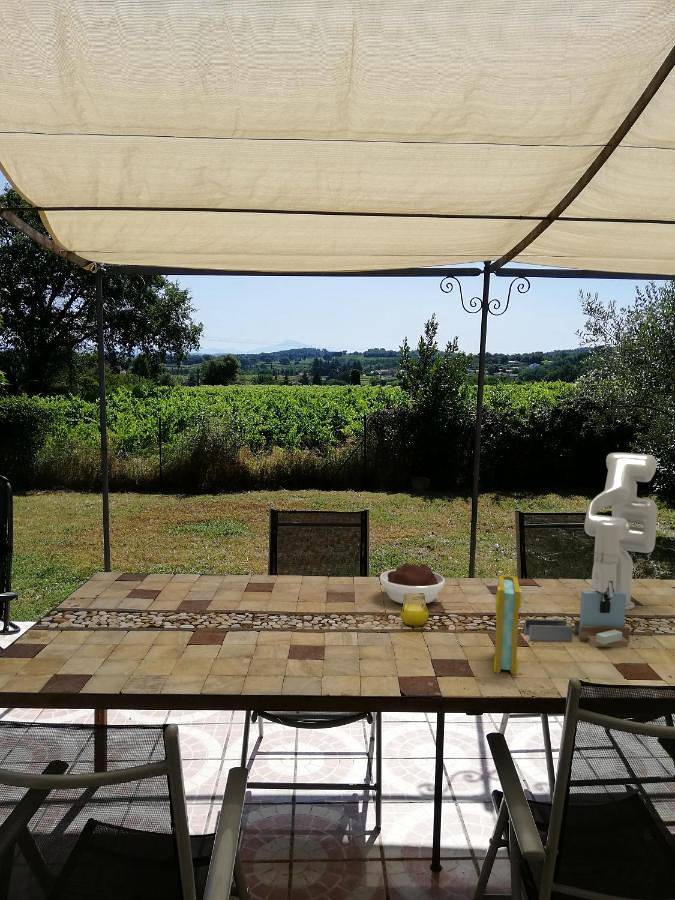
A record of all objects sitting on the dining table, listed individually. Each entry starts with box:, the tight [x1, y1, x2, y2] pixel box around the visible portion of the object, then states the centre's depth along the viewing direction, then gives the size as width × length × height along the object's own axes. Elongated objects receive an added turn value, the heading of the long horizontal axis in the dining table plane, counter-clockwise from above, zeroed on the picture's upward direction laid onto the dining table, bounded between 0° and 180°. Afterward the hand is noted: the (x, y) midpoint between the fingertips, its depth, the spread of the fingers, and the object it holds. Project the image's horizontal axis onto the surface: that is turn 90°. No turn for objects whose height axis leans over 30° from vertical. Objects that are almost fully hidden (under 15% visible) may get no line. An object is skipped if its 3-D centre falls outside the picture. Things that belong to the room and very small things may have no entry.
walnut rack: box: [573, 619, 631, 644], centre depth 241 cm, size 7×16×5 cm, turn 91°
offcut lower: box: [586, 636, 629, 648], centre depth 235 cm, size 4×12×2 cm, turn 91°
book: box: [493, 574, 522, 675], centre depth 217 cm, size 17×7×25 cm, turn 168°
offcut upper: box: [596, 629, 622, 645], centre depth 233 cm, size 3×9×2 cm, turn 120°
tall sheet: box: [578, 590, 626, 638], centre depth 240 cm, size 3×14×16 cm, turn 91°
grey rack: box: [523, 618, 574, 643], centre depth 240 cm, size 7×14×5 cm, turn 91°
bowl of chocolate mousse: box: [379, 562, 446, 604], centre depth 275 cm, size 25×25×15 cm
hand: (602, 610), depth 240 cm, fingers closed on tall sheet, 3 cm apart
